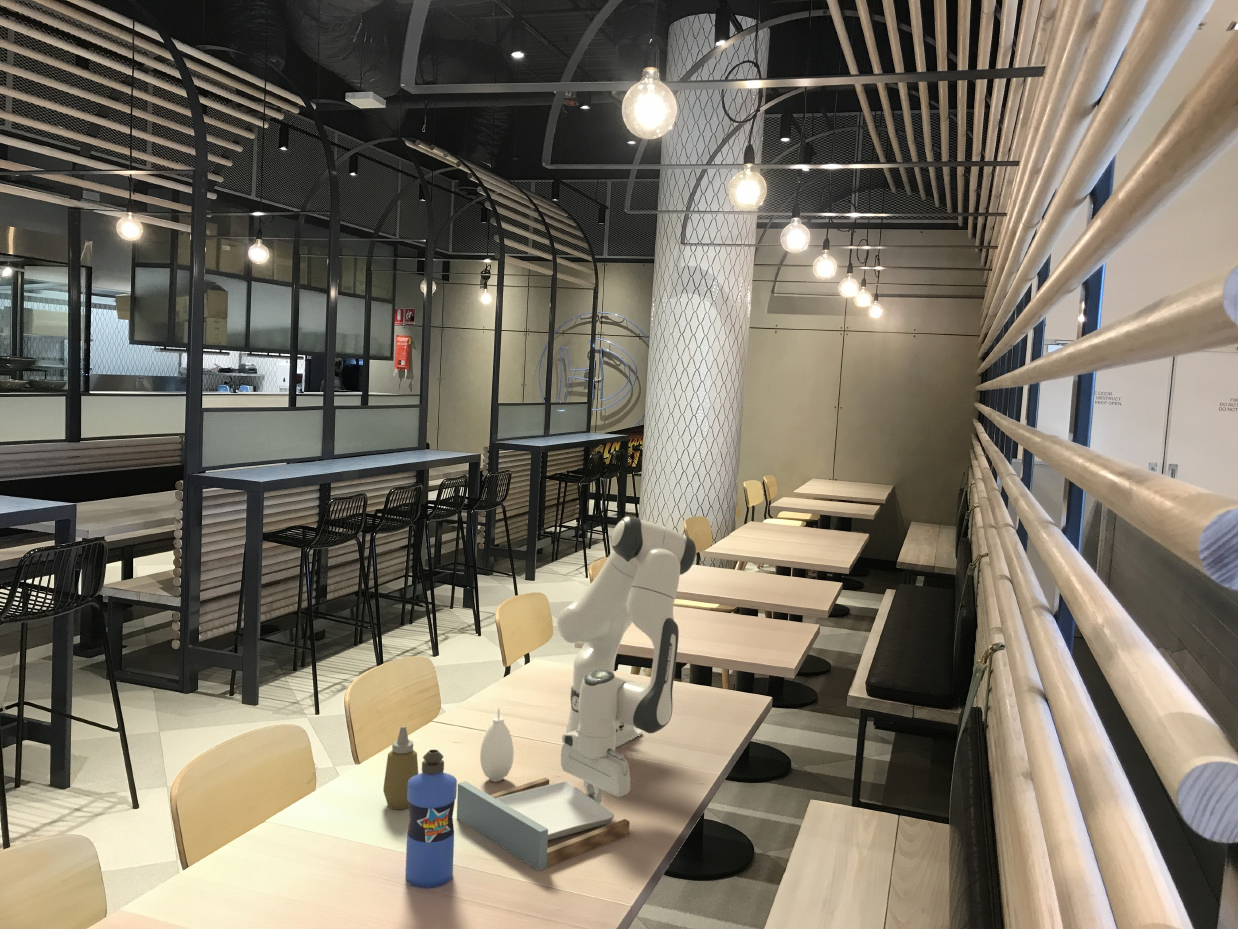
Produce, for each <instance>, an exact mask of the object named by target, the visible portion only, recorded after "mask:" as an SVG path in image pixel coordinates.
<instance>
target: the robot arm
mask: <svg viewBox="0 0 1238 929" xmlns="http://www.w3.org/2000/svg"><path fill="white" fill-rule="evenodd" d="M610 543H611V547H612V550H611V552H610V554H609V555H608V557H607V559H606V561H605V562H604V564H603V566H602V567H601V569H600V571H599V572H598V574H597V576H595V578H594V579H593V581H592V582H591V583H590V584H589V585H587V587H586V588H585V589H584V590H583V591H582V592H581V593H580V594H579V596H577V598H575V600H574V601H572V602H571V603H570V604H569V605H567V606H566V607H565V608H563V609H561V610H560V612H559V614H558V616H557V621H556V627H557V631H558V633H559V635H560V637H561V638H562V640H564V641H565V642H566V643H570V644H582V648H581V649H580V651H579V652H578V653H577V655H576V656H575V658H574V661H573V674H572V675H573V676H572V686H571V688H570V709H569V710H570V711H569V717H568V723H567V725H566V730H565V733H564V734H562V736H561V738H562V739H561V741H562V743H563V744H562V747H561V752H560V766H561V768H562V770H563V771H564V772H566V773H567V774H570V775H572V776H573V777H575V778H577V779H580V780H581V781H583V787H584V789H585V792H586V795H588V796H589V797H590V798H592V799H593V800H595V801H596V802H597V803H599V804H600V803H601V802H602V795H603V794H604V792H606V793H608V794H610V795H612V796H614V797H616V798H621V797H623V796H626V795H628V793H630V791H631V773H630V766H629V761H628V760H627V758H625V755H624V754H622V753H619V752H617V751H616V748H619V747H620V746H622V745H625V744H626V742H627V743H628V741H629V740H631V741H633V740H635V739H636V738H635V737H637V736H639V737H641V736H642V735H643V732H645V733H648V734H654V733H657V732H659V731H660V730H663V729H664V728H665V727H666V726H667V725H668V724H669V723H670V721H671V719H672V718H671V717H672V714H673V688H674V681H675V673H676V665H677V664H676V663H677V658H678V657H677V655H678V650H679V649H678V648H679V647H678V646H679V631H680V630H679V626H678V624H677V622H676V621H675V619H674V604H675V600H676V597H677V592H678V588H679V584H680V576H681V575H684V574H686V573H688V572H689V571H690V569H691V568H692V567H693V565H694V562H695V560H696V556H697V547H696V543H695V541H694V540H693V539H692V538H690V537H689V536H688V535H686V534H684V533H682V534H681V533H680V532H677V531H676V530H674V529H671V528H669V527H668V526H665V525H660V524H657V523H654V522H651V521H648V520H644V519H640V518H639V517H635V516H624V517H623V518H621V519H620V520H619V521H618V522H617V524H616V525H615V527H614V528H613V532H612V537H611V542H610ZM632 623H633V624H634V626H635V627H636V628H637V629H639V630H640V631H641V632H642V633H644V634H645V635H646V636H647V638H649V639H650V641H651V643H652V646H653V659H652V665H651V673H650V681H649V683H648V685H646V684H642V683H638V682H635V681H633V680H629V679H627V678H622V677H620V676H619V677H618V676H616V675H615V664H616V657H617V655H618V651H619V647H620V645H621V642H622V640H623V637H624V636H625V633H626V632H627V630H628V629H629V628H630V626H631V625H632ZM641 734H642V735H641ZM640 735H641V736H640ZM634 738H635V739H634ZM637 738H638V737H637ZM632 739H633V740H632ZM629 742H630V741H629Z"/></svg>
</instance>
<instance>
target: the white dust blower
mask: <svg viewBox="0 0 1238 929" xmlns="http://www.w3.org/2000/svg"><path fill="white" fill-rule="evenodd" d="M504 719H505V718H502V717H500V707H499V708H498V709H497V717H493V719H492V722H491V724H489V726H488V727H487V730H486V731H485V734H484V736H483V738H482V741H481V742H482V743H481V746H480V755H479V756H480V757H479V758H480V766H481V770H482V771H483V774H484V776H486V777H487V778H488V779H489V780H490V781H492V782H496V783H498V782H500V781H502V780H503V779H504V778H506V777H507V776H508V775H509V773H510V771H511V769H512V766H513V763H514V755H515V754H514V744H513V739H512V734H511V733H510V729H509V728H508V726H507V724H506V723H505V720H504Z"/></svg>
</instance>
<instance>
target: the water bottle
mask: <svg viewBox="0 0 1238 929" xmlns="http://www.w3.org/2000/svg"><path fill="white" fill-rule="evenodd" d="M422 759H423V761H421V773H418V775H415V776H413V777H411V778H410V779H409V780H408V791H407V799H408V804H409V808H408V813H409V815H408V816H409V822H408V827H407V832H406V849H405V850H406V851H405V853H406V854H405V880H406V883H408V884H409V885H410V886H412V887H416V888H420V889H433V888H438V887H441V886H444V885H446V884H448V883H449V882H451V880H452V879H453V875H454V874H453V872H454V852H455V851H454V850H455V849H454V848H455V847H454V846H455V829H454V819H453V817H454V816H453V815H454V811H455V810H454V809H455V802H456V799H457V792H458V780H457V778H456V777H455V776H454V775H452V774H450V773H446V772H444V771H445V761H444V760H443V759H444V755H443V754H442V753H441V751H439V750H438V749H430V750H428V751H427V752H426V753H425V754H424V755H423V756H422Z"/></svg>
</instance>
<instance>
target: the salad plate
mask: <svg viewBox="0 0 1238 929" xmlns="http://www.w3.org/2000/svg"><path fill="white" fill-rule="evenodd" d="M496 799H497V800H499V801H501V802H502V803H504V804H506V805H508V806H509V807H511V808H513V809H514V810H516V811H518V812H520V813H521V814H523V815H525V816H527V817H528V818H530V819H532V820H533V821H535V822H537V823H539V824H540V825H542V826H544V827H546V828H547V829H548V841H550V840H551V841H552V840H554V839H558V838H562V837H566V836H570V835H572V834H576V833H579V832H580V833H581V832H584V831H587V830H590V829H593V828H597V827H600V826H603V825H605V824H608V823H609V822H611V821H612V820H613V819H614V818H615V814H614V813H613V812H612V811H610V810H609V809H607V808H606V807H605V806H604V805H602V804H600V803H597V802H596V801H595V800H593V799H592V798H590V797H589V796H588V795H587V793H585V792H583V791H582V790H580V789H579V788H578V787H576V786H575V785H574V784H572V783H571V782H569V781H566V780H563V781H559V782H556V783H555V782H554V783H552V784H551V783H549V785H546V786H542V787H538V788H534V789H530V790H526V791H522V792H518V793H514V794H510V795H506V796H502V797H498V798H496Z"/></svg>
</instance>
